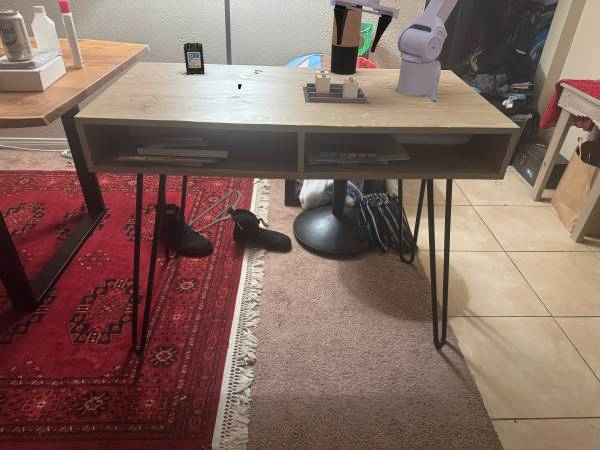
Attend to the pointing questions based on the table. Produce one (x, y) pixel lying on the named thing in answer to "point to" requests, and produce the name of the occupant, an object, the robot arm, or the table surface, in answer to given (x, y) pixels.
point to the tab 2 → (350, 88)
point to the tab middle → (323, 83)
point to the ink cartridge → (194, 58)
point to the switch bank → (332, 95)
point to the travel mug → (346, 44)
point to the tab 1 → (320, 74)
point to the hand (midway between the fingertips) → (355, 48)
